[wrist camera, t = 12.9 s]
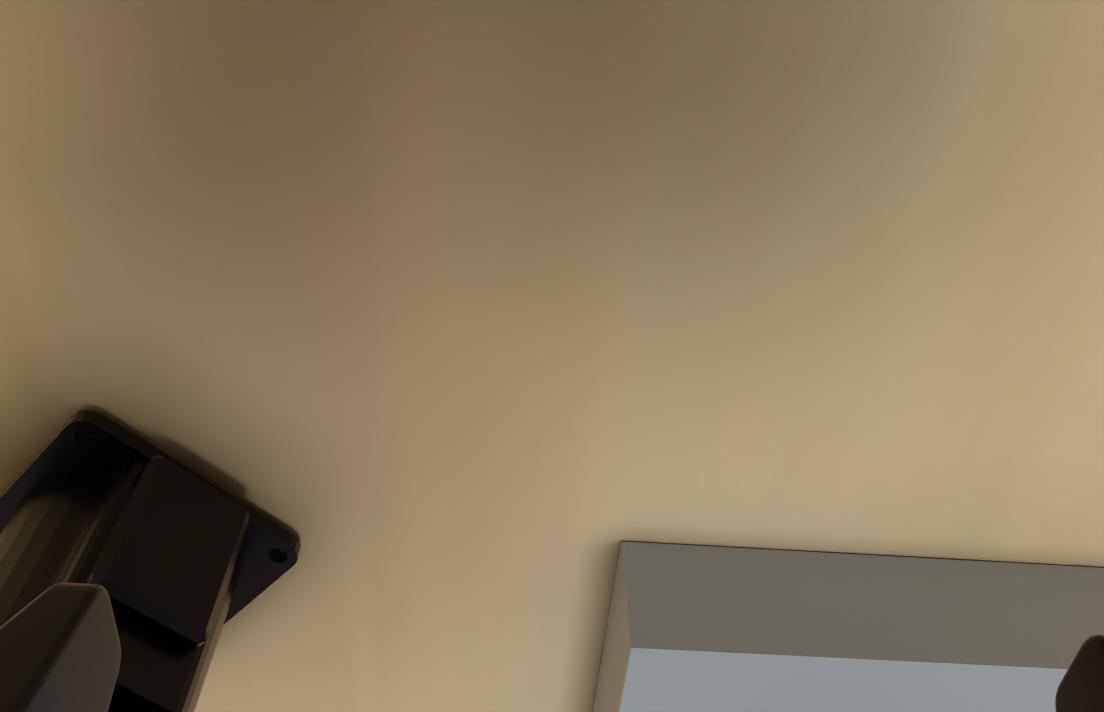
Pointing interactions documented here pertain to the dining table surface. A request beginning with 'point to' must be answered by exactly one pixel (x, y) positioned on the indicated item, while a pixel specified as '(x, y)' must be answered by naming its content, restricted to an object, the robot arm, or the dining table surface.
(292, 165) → the dining table surface
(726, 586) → the socket block
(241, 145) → the dining table surface
